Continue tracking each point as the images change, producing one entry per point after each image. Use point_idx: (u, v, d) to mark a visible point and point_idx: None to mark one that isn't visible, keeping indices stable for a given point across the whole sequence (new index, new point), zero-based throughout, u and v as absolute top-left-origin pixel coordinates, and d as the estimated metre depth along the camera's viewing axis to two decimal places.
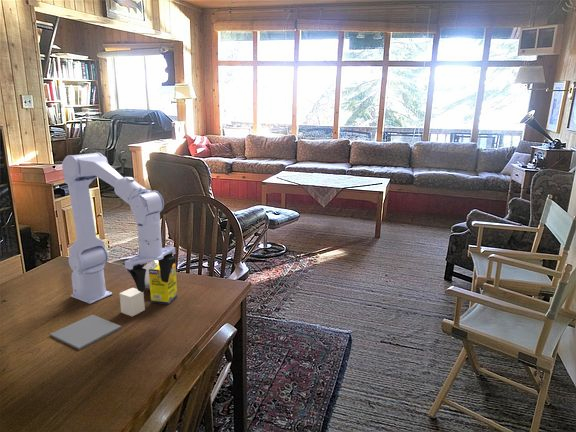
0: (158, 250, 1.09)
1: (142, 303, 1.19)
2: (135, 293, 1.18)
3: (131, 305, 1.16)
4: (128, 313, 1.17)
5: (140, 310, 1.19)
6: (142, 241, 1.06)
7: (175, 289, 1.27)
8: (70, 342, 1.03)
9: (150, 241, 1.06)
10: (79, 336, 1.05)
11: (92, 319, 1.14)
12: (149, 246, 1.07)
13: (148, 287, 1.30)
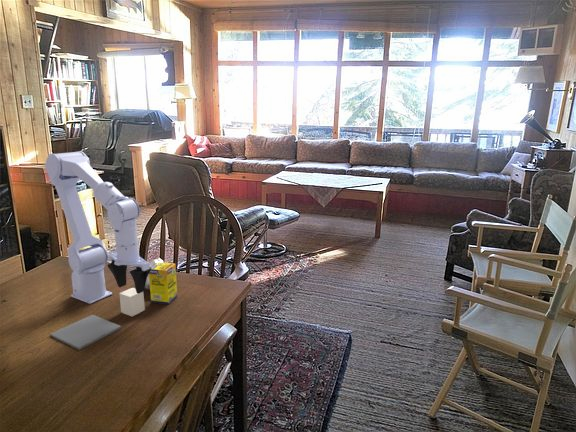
0: (120, 256, 1.13)
1: (142, 303, 1.19)
2: (135, 293, 1.18)
3: (130, 305, 1.16)
4: (128, 313, 1.17)
5: (140, 310, 1.19)
6: None
7: (175, 289, 1.27)
8: (70, 342, 1.03)
9: None
10: (79, 336, 1.05)
11: (92, 319, 1.14)
12: (116, 249, 1.14)
13: (148, 287, 1.30)
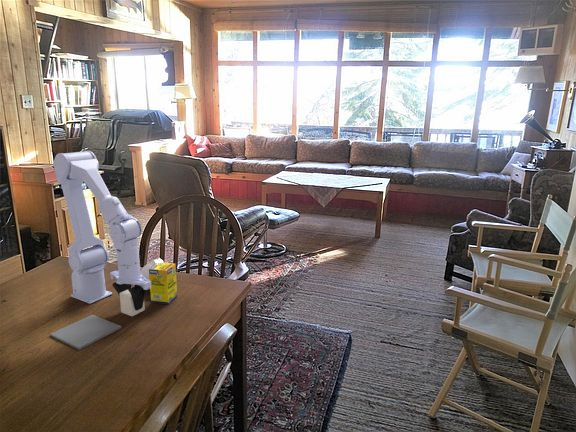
0: (122, 275, 1.14)
1: None
2: None
3: (130, 305, 1.16)
4: (128, 313, 1.17)
5: (140, 310, 1.19)
6: None
7: (175, 289, 1.27)
8: (70, 342, 1.03)
9: None
10: (79, 336, 1.05)
11: (92, 319, 1.14)
12: (118, 268, 1.15)
13: None
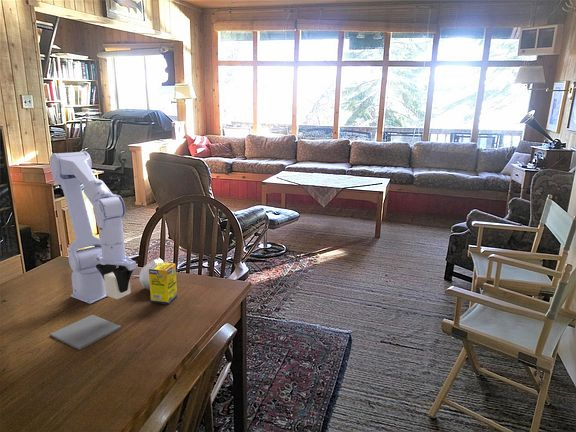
0: (105, 255, 1.09)
1: (128, 286, 1.14)
2: None
3: (115, 287, 1.11)
4: (113, 296, 1.12)
5: (126, 293, 1.14)
6: None
7: (175, 289, 1.27)
8: (70, 342, 1.03)
9: (101, 243, 1.09)
10: (79, 336, 1.05)
11: (92, 319, 1.14)
12: (101, 248, 1.10)
13: (148, 287, 1.30)
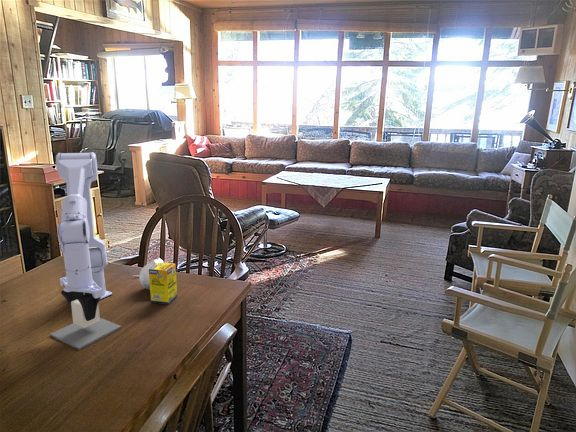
0: (70, 282, 1.02)
1: (96, 313, 1.08)
2: None
3: (82, 315, 1.04)
4: (80, 324, 1.06)
5: (94, 321, 1.07)
6: None
7: (175, 289, 1.27)
8: (70, 342, 1.03)
9: (65, 269, 1.03)
10: (79, 336, 1.05)
11: None
12: None
13: (148, 287, 1.30)
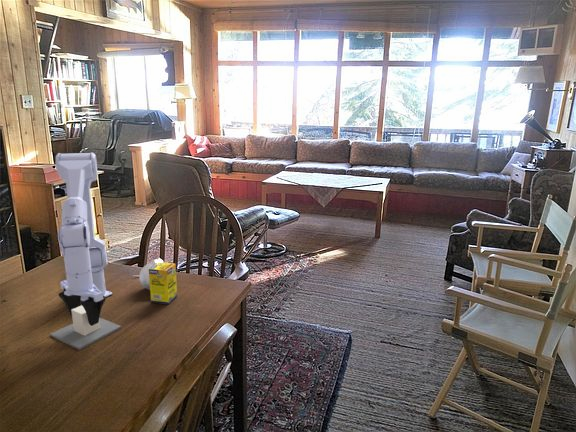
0: (70, 286, 1.02)
1: None
2: None
3: (83, 323, 1.05)
4: (81, 332, 1.06)
5: (95, 328, 1.08)
6: None
7: (175, 289, 1.27)
8: (70, 342, 1.03)
9: None
10: (79, 336, 1.05)
11: None
12: None
13: (148, 287, 1.30)
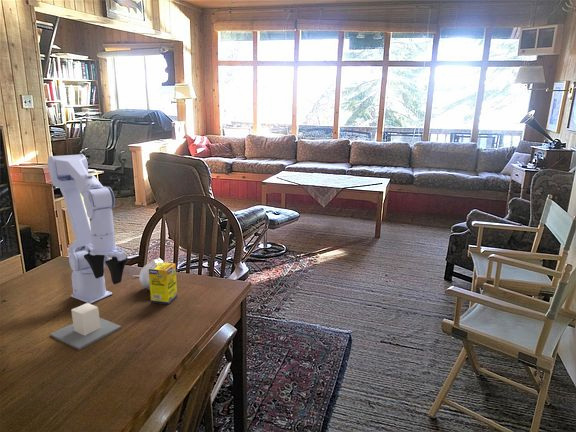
0: (95, 246, 1.10)
1: (97, 321, 1.08)
2: (89, 309, 1.06)
3: (83, 323, 1.05)
4: (81, 332, 1.06)
5: (95, 328, 1.08)
6: None
7: (175, 289, 1.27)
8: (70, 342, 1.03)
9: (91, 234, 1.11)
10: (79, 336, 1.05)
11: None
12: None
13: (148, 287, 1.30)
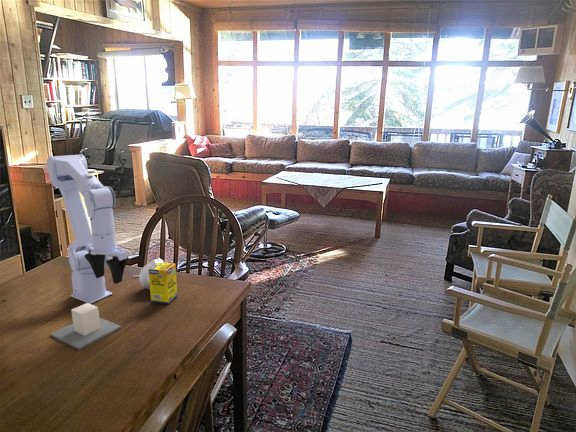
0: (96, 246, 1.10)
1: (97, 321, 1.08)
2: (89, 309, 1.06)
3: (83, 323, 1.05)
4: (81, 332, 1.06)
5: (95, 328, 1.08)
6: None
7: (175, 289, 1.27)
8: (70, 342, 1.03)
9: None
10: (79, 336, 1.05)
11: None
12: (92, 238, 1.11)
13: (148, 287, 1.30)
